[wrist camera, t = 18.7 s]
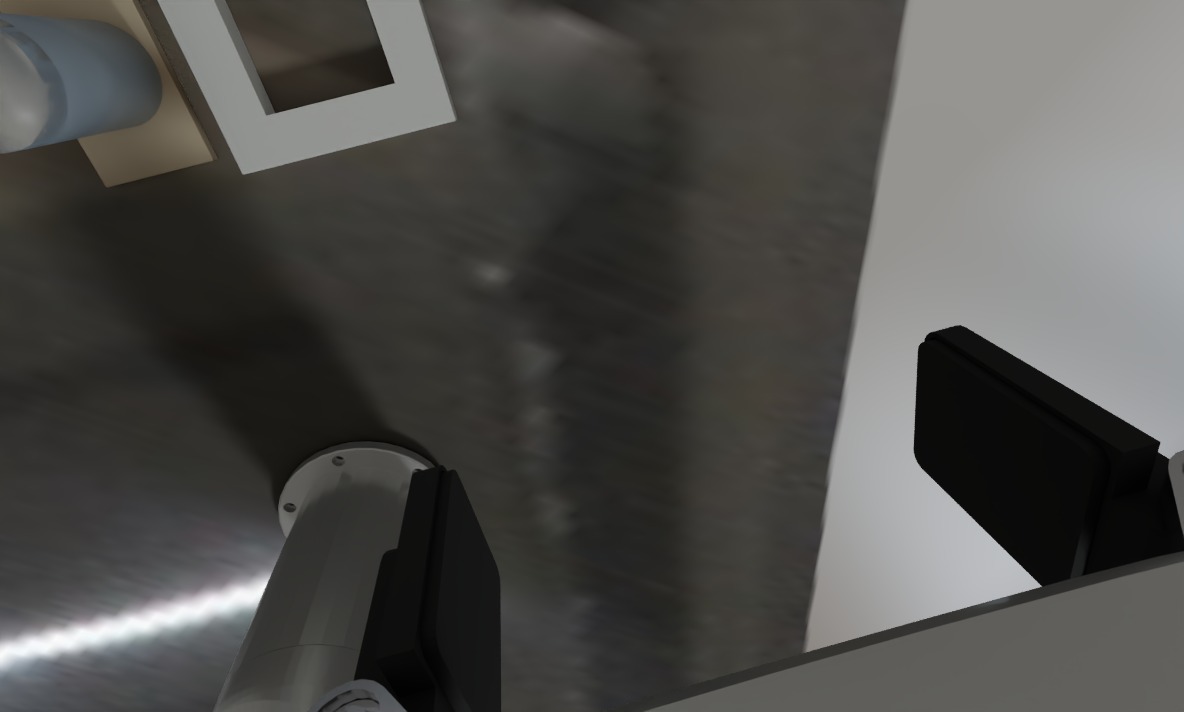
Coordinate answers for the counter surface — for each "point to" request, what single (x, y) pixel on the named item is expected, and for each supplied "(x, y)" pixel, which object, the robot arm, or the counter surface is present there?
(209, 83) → the dock
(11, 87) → the cylinder
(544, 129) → the counter surface
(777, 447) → the counter surface
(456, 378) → the counter surface
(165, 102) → the pad
